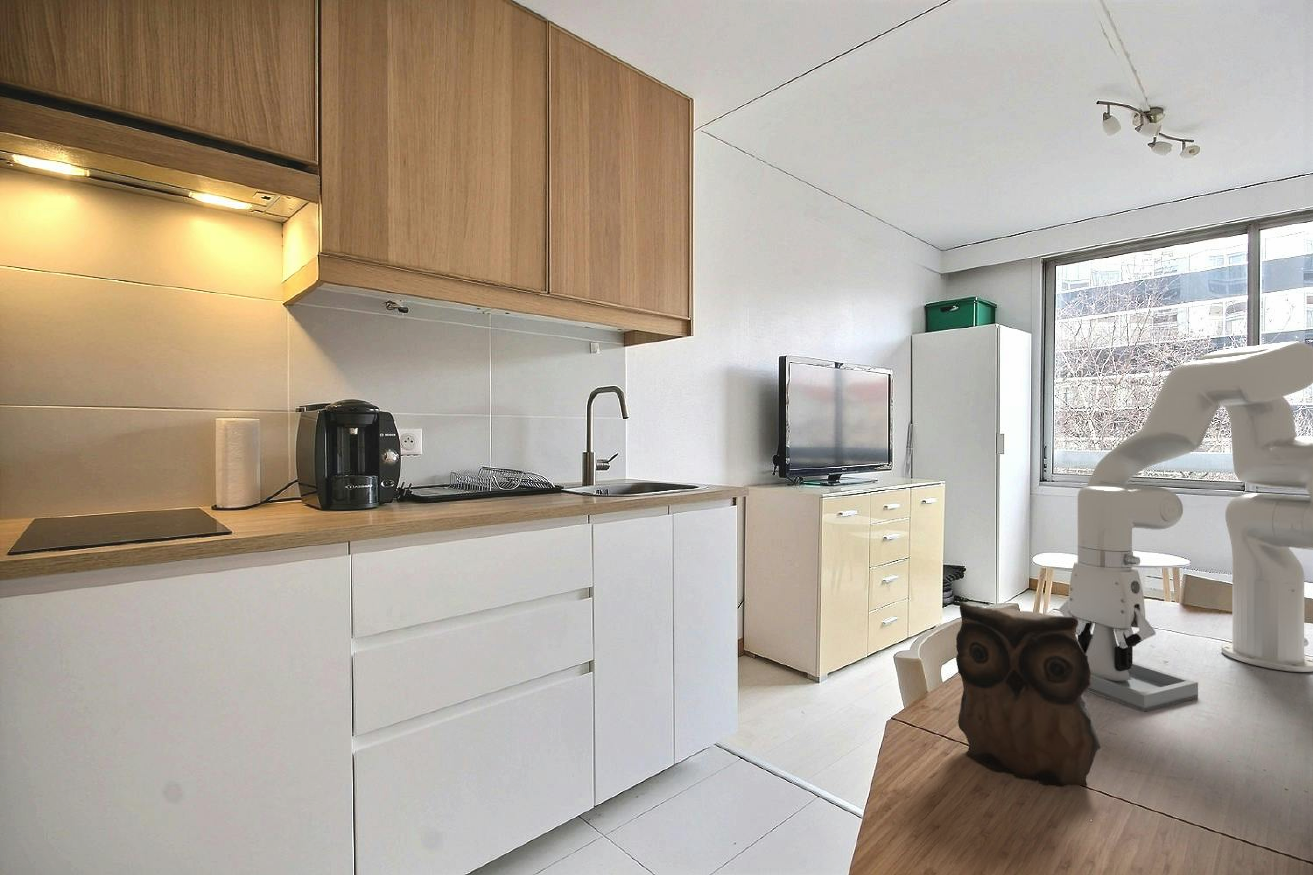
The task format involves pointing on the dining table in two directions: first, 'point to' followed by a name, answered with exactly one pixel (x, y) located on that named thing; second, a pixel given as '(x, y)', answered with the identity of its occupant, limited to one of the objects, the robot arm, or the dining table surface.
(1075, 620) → the owl
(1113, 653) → the flask
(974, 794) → the dining table surface
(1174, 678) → the tray
